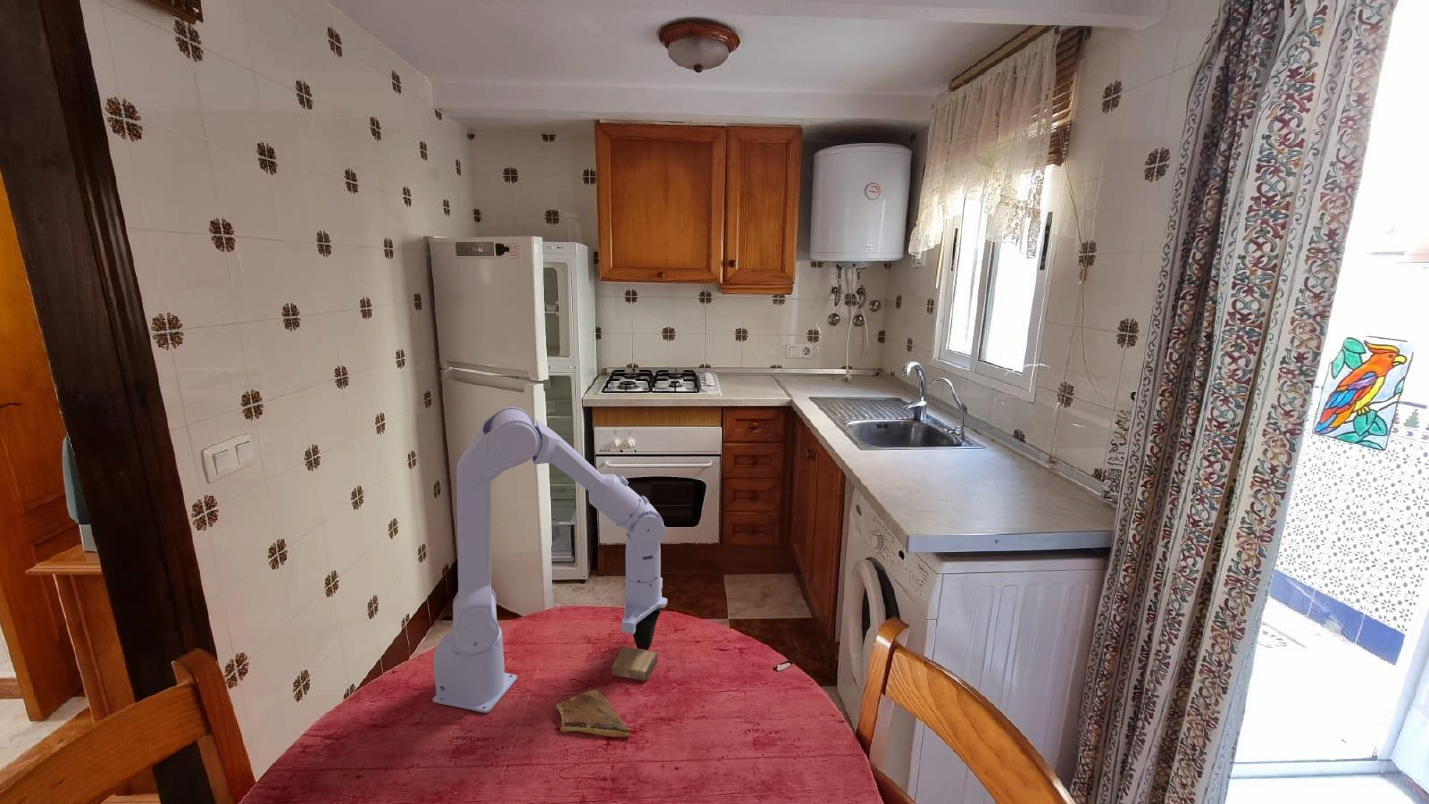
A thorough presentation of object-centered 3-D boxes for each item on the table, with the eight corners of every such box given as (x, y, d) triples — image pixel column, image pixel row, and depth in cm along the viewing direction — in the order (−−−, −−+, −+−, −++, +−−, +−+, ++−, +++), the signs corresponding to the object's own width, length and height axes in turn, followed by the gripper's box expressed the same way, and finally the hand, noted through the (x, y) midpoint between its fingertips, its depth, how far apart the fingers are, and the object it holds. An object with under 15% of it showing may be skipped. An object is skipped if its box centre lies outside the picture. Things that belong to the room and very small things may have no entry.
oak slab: (611, 665, 91) (647, 672, 90) (623, 647, 96) (657, 652, 95) (612, 675, 92) (647, 682, 90) (623, 656, 96) (657, 662, 95)
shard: (631, 741, 79) (631, 729, 79) (579, 767, 75) (579, 755, 74) (598, 695, 88) (598, 685, 87) (549, 716, 83) (549, 705, 83)
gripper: (651, 600, 87) (652, 679, 89) (678, 556, 100) (678, 626, 103) (608, 594, 88) (610, 671, 91) (640, 552, 102) (641, 620, 105)
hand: (643, 647), depth 97 cm, fingers closed
